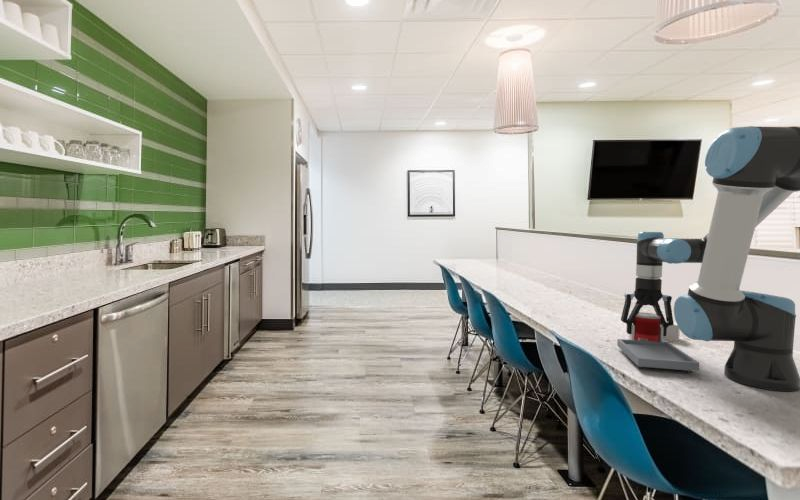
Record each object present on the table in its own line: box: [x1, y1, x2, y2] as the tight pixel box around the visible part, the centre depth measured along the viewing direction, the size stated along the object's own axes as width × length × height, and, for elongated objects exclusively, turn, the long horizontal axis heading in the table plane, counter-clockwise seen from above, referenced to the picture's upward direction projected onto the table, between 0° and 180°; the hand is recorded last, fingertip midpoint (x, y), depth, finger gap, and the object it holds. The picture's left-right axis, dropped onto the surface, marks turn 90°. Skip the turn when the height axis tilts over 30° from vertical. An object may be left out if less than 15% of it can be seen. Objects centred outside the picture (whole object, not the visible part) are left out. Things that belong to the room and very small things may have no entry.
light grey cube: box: [663, 321, 681, 343], centre depth 150 cm, size 6×6×6 cm
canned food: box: [633, 311, 661, 342], centre depth 140 cm, size 8×8×11 cm
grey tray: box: [616, 338, 700, 373], centre depth 124 cm, size 21×15×4 cm
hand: (645, 344), depth 140 cm, fingers closed on canned food, 8 cm apart
